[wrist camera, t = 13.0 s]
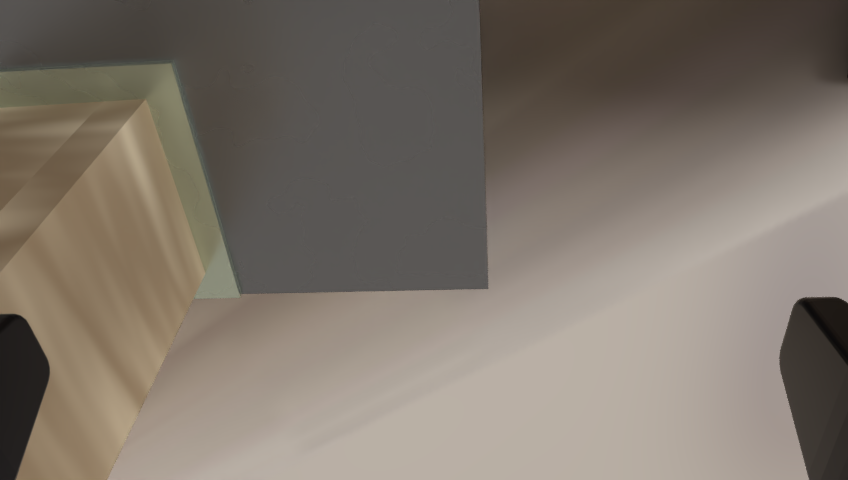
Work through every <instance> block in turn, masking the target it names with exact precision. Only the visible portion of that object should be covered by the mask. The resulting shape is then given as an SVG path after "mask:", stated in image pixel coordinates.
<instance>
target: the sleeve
mask: <svg viewBox="0 0 848 480" xmlns="http://www.w3.org/2000/svg"><path fill="white" fill-rule="evenodd" d="M204 275H205V270H204V267H203V264H202V262H201V259H200V256H199V253H198V250H197V247H196V244H195V241H194V238H193V235H192V232H191V229H190V226H189V224H188V221H187V218H186V215H185V212H184V209H183V206H182V203H181V200H180V197H179V194H178V191H177V188H176V185H175V183H174V180H173V177H172V174H171V171H170V168H169V165H168V162H167V159H166V156H165V153H164V150H163V147H162V145H161V142H160V139H159V136H158V133H157V130H156V127H155V124H154V121H153V118H152V115H151V112H150V109H149V106H148V104H147V101H146V99H136V100H120V101H103V102H87V103H71V104H54V105H38V106H21V107H5V108H0V314H18V315H21V316H22V317H24V318H25V319H26V320H27V322H28V323H29V325H30V327H31V329H32V330H33V332H34V334H35V336H36V338H37V340H38V342H39V343H40V345H41V347H42V349H43V351H44V353H45V355H46V357H47V359H48V361H49V365H50V378H49V382H48V385H47V388H46V391H45V394H44V397H43V400H42V403H41V406H40V409H39V412H38V415H37V418H36V421H35V424H34V427H33V430H32V433H31V436H30V439H29V442H28V445H27V448H26V451H25V454H24V457H23V460H22V463H21V466H20V469H19V472H18V475H17V478H16V480H107V479H108V477H109V474H110V472H111V470H112V468H113V466H114V464H115V462H116V460H117V458H118V456H119V453H120V451H121V449H122V447H123V445H124V443H125V441H126V439H127V437H128V435H129V433H130V430H131V428H132V426H133V424H134V422H135V420H136V418H137V416H138V414H139V412H140V409H141V407H142V405H143V403H144V401H145V399H146V397H147V395H148V393H149V391H150V389H151V386H152V384H153V382H154V380H155V378H156V376H157V374H158V372H159V370H160V368H161V365H162V363H163V361H164V359H165V357H166V355H167V353H168V351H169V349H170V347H171V345H172V342H173V340H174V338H175V336H176V334H177V332H178V330H179V328H180V326H181V324H182V321H183V319H184V317H185V315H186V313H187V311H188V309H189V307H190V305H191V303H192V301H193V298H194V296H195V294H196V292H197V290H198V288H199V286H200V284H201V282H202V280H203V277H204Z"/></svg>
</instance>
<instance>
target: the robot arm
mask: <svg viewBox="0 0 848 480" xmlns="http://www.w3.org/2000/svg"><path fill="white" fill-rule="evenodd" d="M847 77H848V76H847ZM779 359H780V370H781V375H782V379H783V382H784V386H785V390H786V394H787V398H788V401H789V405H790V409H791V412H792V417H793V420H794V424H795V428H796V432H797V435H798V439H799V443H800V446H801V451H802V455H803V458H804V462H805V466H806V470H807V474H808V477H809V480H848V303H847V302H846V301H844V300H842V299H840V298H837V297H805V298H802V299H799V300H798V301H797V302H796V303H795V304H794V306H793V309H792V312H791V315H790V319H789V322H788V326H787V329H786V333H785V336H784V339H783V343H782V346H781V350H780V357H779ZM49 378H50V365H49V361H48V359H47V357H46V355H45V353H44V351H43V349H42V347H41V345H40V343H39V342H38V340H37V338H36V336H35V334H34V332H33V330H32V329H31V327H30V325H29V323H28V322H27V320H26V319H25V318H24V317H22V316H21V315H18V314H0V480H16V478H17V475H18V472H19V469H20V466H21V463H22V460H23V457H24V454H25V451H26V448H27V445H28V442H29V439H30V436H31V433H32V430H33V427H34V424H35V421H36V418H37V415H38V412H39V409H40V406H41V403H42V400H43V397H44V394H45V391H46V388H47V385H48V382H49Z"/></svg>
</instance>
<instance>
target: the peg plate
mask: <svg viewBox="0 0 848 480" xmlns="http://www.w3.org/2000/svg"><path fill="white" fill-rule="evenodd" d="M136 99H146V101H147V104H148V106H149V109H150V112H151V115H152V118H153V121H154V124H155V127H156V130H157V133H158V136H159V139H160V142H161V145H162V147H163V150H164V153H165V156H166V159H167V162H168V165H169V168H170V171H171V174H172V177H173V180H174V183H175V185H176V188H177V191H178V194H179V197H180V200H181V203H182V206H183V209H184V212H185V215H186V218H187V221H188V224H189V226H190V229H191V232H192V235H193V238H194V241H195V244H196V247H197V250H198V253H199V256H200V259H201V262H202V264H203V267H204V270H205V275H204V277H203V280H202V282H201V284H200V286H199V288H198V290H197V292H196V294H195V296H194V298H193V299H209V298H240V297H241V294H258V293H307V292H355V291H404V290H452V289H488V255H487V223H486V191H485V159H484V127H483V95H482V63H481V31H480V0H0V108H5V107H21V106H38V105H54V104H71V103H87V102H103V101H120V100H136Z"/></svg>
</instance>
